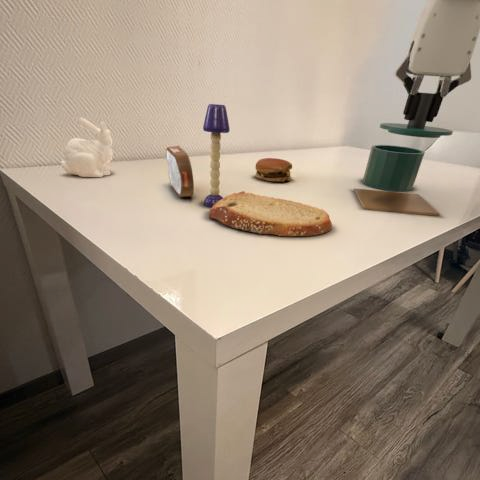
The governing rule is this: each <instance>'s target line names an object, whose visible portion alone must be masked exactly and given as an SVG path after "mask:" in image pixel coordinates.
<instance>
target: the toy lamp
mask: <svg viewBox="0 0 480 480" xmlns="http://www.w3.org/2000/svg"><path fill="white" fill-rule="evenodd" d="M230 129H231V128H230V123H229V118H228V112H227V107H226V105H225V104H216V103H209V104H208V105H207V109H206V112H205V117H204V121H203V126H202V130H203V131H204V132H207V133H210V140H211V142H210V150H211V152H210V166H209V167H210V171H209V172H210V175H209V176H210V182H209V183H210V189H209V191H210V194H208V195H207V196H205V198H204V199H203V205H204V206H205V207H207V208H212V206H213V205H214V204H215V203H216V202H218V201H219V200H221V199H223V198H224V197H223V196H222V195H220V184H221V183H220V176H221V173H220V168H221V162H220V158H221V152H220V151H221V139H222V135H221V134H229V133H230Z"/></svg>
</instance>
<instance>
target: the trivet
mask: <svg viewBox="0 0 480 480" xmlns="http://www.w3.org/2000/svg"><path fill="white" fill-rule="evenodd" d="M353 192H354V193H355V195H356V197H357V199H358V201H359V203H360V205H361V207H362V208H363V209H364V210H368V211H369V210H370V211H381V212H391V213H399V214H401V213H402V214H412V215H422V216H431V217H439V216H440V213H439V212H438V211H437V210H436V209H435V208H434V207H433V206H431V204H429V203H428V202H427V201H426V200H425V199H424V198H423V197H422V196H420V195H419V194H418V193H409V192H400V191H389V190H378V189H377V190H376V189H366V188H356V187H355V188H354V189H353Z"/></svg>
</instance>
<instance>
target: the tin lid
mask: <svg viewBox="0 0 480 480" xmlns="http://www.w3.org/2000/svg"><path fill="white" fill-rule="evenodd" d="M435 95H436V94H435V93H431V92H419V91H418V96H419V99H418V102H417V106H416V109H415V112H414V115H413V118H412V120H408V122H407V123H396V122H395V123H394V122H382V123H380V124H379V128H380V129H382V130H387V132H388V133H390V134H394V135H399V136H400V135H401V136H406V137H413V138H414V137H415V138H426V139H428V138H429V139H438V138H441V136H446V137H448V136H452V135H453V132H454V131H453V130H452V129H448V128H443V127H436V126H430V125H429V126H428V125H426V124H427V119H428V116H429V113H430V110H431V107H432V104H433V101H434V98H435Z"/></svg>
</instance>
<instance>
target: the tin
mask: <svg viewBox="0 0 480 480" xmlns="http://www.w3.org/2000/svg"><path fill="white" fill-rule="evenodd" d="M165 157H166V161H167V175H168V179H169V182H170V185H171V188H172V189H173V190H174V192H175V193H176V195H177V196H178V197H179V198H189V197H190V198H192V197H193V196H194V192H195V190H194V189H195V184H194V182H195V181H194V174H193V168H192V163H191V159H190V156H189V154H188V153H187V151H186V150H184V148H182V147H181V146H180V145H175V146H167V147H166V149H165Z"/></svg>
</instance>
